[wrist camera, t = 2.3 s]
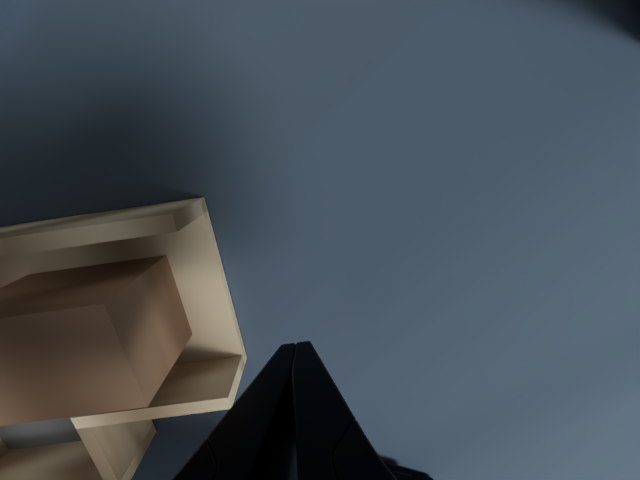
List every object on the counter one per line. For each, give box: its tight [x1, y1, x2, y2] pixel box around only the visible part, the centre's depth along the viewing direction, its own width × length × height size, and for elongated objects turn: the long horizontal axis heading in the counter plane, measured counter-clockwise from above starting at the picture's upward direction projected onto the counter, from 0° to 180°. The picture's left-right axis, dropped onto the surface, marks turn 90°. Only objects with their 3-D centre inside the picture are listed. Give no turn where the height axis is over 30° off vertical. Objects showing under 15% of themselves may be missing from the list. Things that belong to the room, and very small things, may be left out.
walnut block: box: [0, 255, 192, 426], centre depth 11 cm, size 6×4×4 cm, turn 98°
